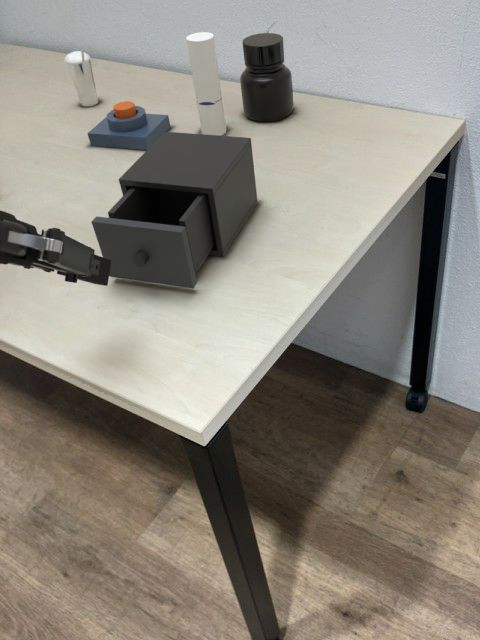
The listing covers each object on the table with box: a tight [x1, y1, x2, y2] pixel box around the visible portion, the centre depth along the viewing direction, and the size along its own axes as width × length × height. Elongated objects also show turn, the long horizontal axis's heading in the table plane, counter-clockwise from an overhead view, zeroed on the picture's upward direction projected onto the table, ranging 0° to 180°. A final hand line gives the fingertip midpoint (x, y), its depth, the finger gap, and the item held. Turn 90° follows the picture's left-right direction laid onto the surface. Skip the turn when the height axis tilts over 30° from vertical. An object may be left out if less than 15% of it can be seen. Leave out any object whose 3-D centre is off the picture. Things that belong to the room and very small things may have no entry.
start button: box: [112, 100, 137, 119], centre depth 103 cm, size 4×4×2 cm
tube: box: [185, 31, 227, 136], centre depth 100 cm, size 4×4×15 cm
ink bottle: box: [239, 32, 294, 122], centre depth 105 cm, size 10×9×12 cm
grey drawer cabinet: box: [118, 131, 259, 257], centre depth 81 cm, size 14×13×10 cm
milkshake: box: [64, 50, 99, 107], centre depth 114 cm, size 5×5×10 cm
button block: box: [87, 105, 171, 151], centre depth 105 cm, size 11×9×4 cm
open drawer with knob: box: [91, 186, 216, 290], centre depth 75 cm, size 14×11×8 cm
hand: (103, 272), depth 64 cm, fingers closed
